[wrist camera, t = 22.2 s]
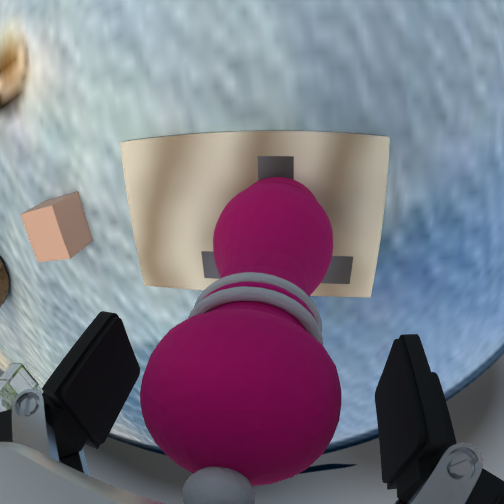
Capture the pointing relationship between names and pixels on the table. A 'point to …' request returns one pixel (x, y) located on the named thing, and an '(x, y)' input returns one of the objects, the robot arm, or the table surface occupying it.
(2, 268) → the block
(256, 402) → the pepper mill
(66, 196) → the block
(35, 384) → the syrup box
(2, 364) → the table surface
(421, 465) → the robot arm
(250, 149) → the board
